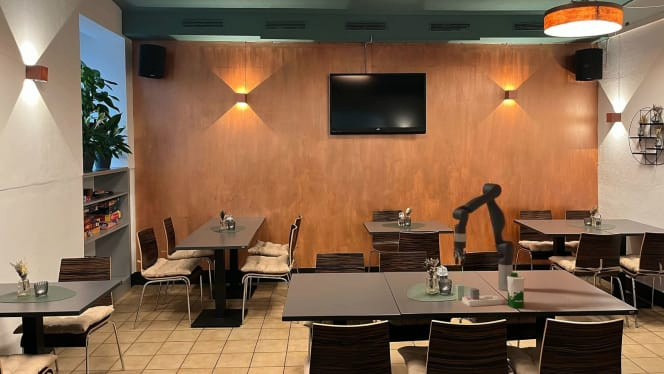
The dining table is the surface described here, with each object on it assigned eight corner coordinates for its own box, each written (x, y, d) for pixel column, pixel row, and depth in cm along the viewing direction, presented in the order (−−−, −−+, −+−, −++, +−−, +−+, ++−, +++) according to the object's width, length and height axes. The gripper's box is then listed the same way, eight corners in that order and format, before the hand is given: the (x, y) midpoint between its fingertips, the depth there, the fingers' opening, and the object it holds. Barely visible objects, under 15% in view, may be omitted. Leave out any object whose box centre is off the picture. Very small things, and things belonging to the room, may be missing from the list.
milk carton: (518, 304, 346) (518, 271, 345) (526, 308, 337) (526, 275, 336) (505, 305, 344) (505, 272, 343) (513, 309, 336) (513, 275, 334)
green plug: (461, 298, 363) (461, 284, 362) (463, 299, 359) (463, 285, 358) (455, 298, 362) (455, 284, 361) (457, 300, 358) (457, 286, 358)
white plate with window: (495, 299, 357) (495, 285, 357) (503, 304, 346) (503, 289, 346) (462, 301, 354) (462, 287, 353) (469, 306, 343) (469, 291, 342)
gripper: (470, 241, 352) (469, 267, 353) (461, 238, 366) (460, 263, 367) (458, 241, 351) (458, 267, 351) (450, 238, 365) (449, 263, 365)
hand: (459, 265), depth 359 cm, fingers open, 8 cm apart
